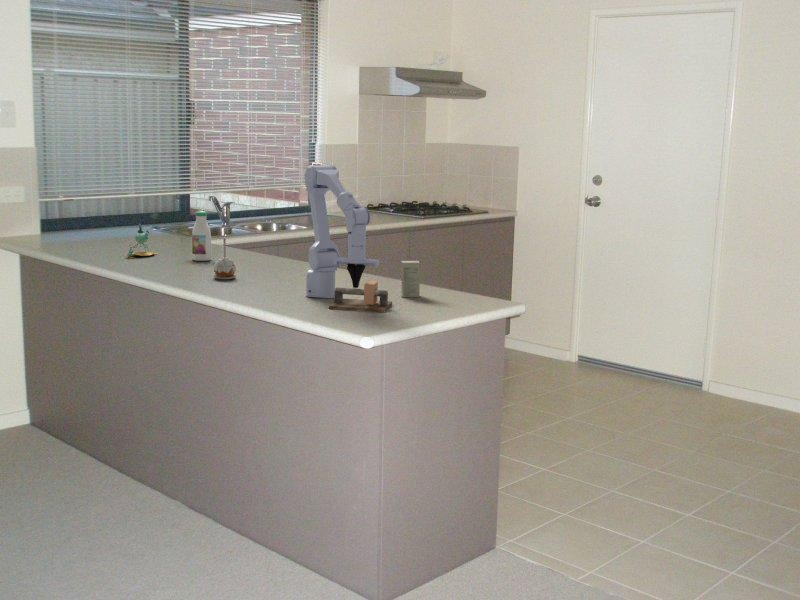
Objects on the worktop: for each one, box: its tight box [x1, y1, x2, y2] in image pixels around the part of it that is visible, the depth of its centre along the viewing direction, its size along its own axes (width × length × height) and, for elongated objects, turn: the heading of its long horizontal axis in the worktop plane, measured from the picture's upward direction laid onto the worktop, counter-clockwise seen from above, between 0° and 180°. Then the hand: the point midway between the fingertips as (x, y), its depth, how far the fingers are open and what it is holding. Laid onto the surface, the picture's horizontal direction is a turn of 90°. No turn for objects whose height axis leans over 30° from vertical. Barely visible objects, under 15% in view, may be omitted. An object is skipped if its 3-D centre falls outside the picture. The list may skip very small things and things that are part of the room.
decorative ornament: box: [213, 237, 237, 281], centre depth 346 cm, size 8×8×15 cm
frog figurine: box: [125, 223, 157, 260], centre depth 394 cm, size 10×18×15 cm, turn 144°
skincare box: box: [401, 260, 421, 298], centre depth 322 cm, size 6×4×12 cm
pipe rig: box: [328, 287, 393, 313], centre depth 303 cm, size 18×13×6 cm
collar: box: [363, 280, 379, 305], centre depth 302 cm, size 3×6×6 cm, turn 169°
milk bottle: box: [191, 210, 212, 262], centre depth 387 cm, size 8×8×20 cm
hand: (355, 287), depth 303 cm, fingers closed
